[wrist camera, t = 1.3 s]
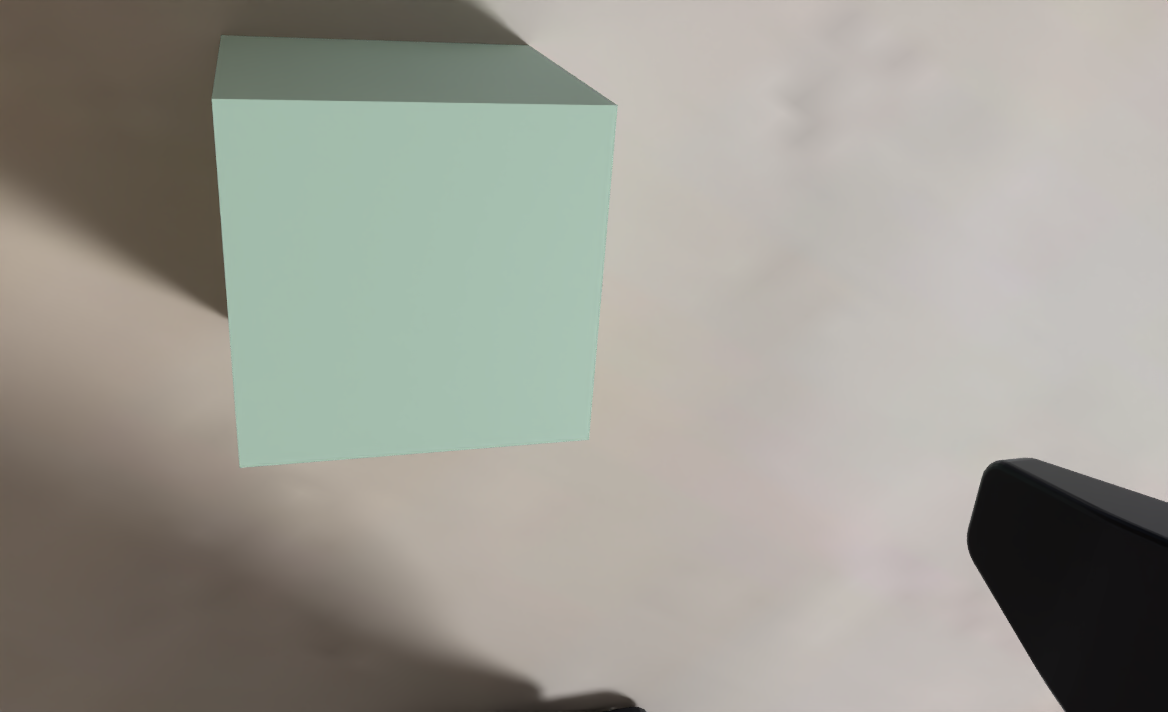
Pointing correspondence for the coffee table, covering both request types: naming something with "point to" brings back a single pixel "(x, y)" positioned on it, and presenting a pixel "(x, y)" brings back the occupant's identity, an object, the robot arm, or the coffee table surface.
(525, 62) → the sage block
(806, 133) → the coffee table surface
